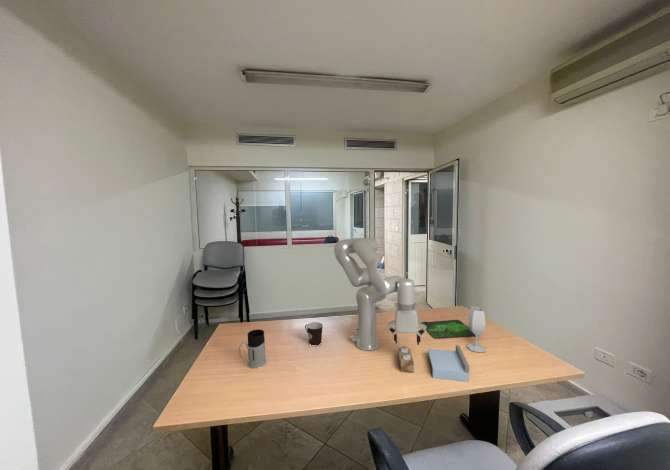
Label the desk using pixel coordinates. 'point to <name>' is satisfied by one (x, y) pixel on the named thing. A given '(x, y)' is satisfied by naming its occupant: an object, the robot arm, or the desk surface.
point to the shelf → (449, 364)
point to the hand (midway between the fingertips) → (406, 342)
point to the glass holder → (255, 348)
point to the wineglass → (476, 327)
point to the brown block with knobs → (405, 360)
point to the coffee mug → (314, 332)
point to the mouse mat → (448, 329)
